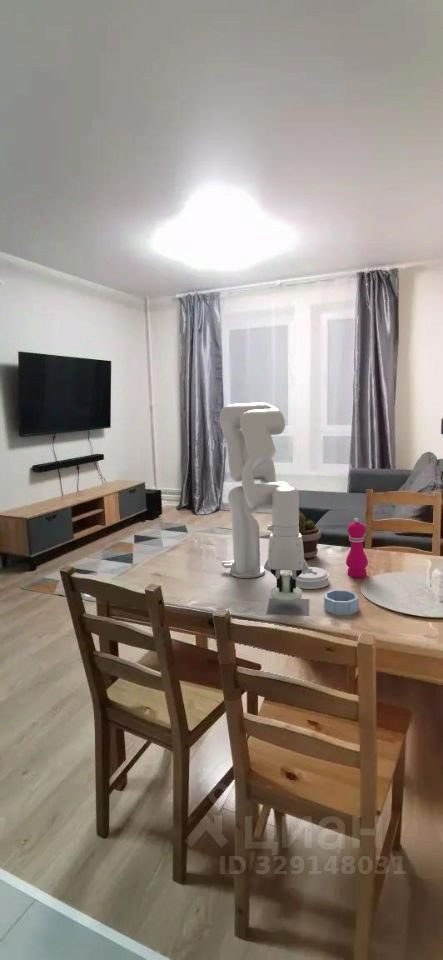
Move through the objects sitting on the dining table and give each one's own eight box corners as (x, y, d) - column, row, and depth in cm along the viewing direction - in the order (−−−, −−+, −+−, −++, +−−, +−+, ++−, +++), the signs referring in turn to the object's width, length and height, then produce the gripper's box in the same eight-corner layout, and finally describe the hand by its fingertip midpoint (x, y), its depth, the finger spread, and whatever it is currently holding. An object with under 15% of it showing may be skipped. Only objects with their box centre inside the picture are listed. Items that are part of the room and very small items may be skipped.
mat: (266, 615, 138) (266, 614, 138) (269, 599, 149) (269, 598, 149) (309, 616, 135) (309, 615, 135) (309, 600, 147) (309, 599, 147)
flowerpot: (293, 549, 201) (292, 502, 198) (328, 554, 192) (327, 504, 189) (275, 559, 189) (274, 508, 186) (312, 564, 180) (311, 511, 177)
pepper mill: (368, 578, 163) (368, 520, 160) (346, 577, 165) (346, 520, 162) (366, 571, 170) (366, 515, 167) (345, 571, 172) (345, 515, 169)
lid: (282, 585, 161) (282, 571, 160) (305, 575, 170) (304, 561, 169) (314, 594, 152) (314, 579, 151) (336, 583, 161) (336, 569, 160)
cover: (270, 600, 139) (269, 580, 138) (271, 588, 148) (271, 568, 147) (301, 602, 138) (301, 581, 137) (301, 589, 147) (301, 569, 145)
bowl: (324, 615, 136) (324, 601, 135) (324, 602, 145) (323, 589, 144) (359, 616, 134) (359, 602, 134) (356, 603, 143) (356, 590, 143)
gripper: (255, 533, 137) (257, 594, 141) (314, 534, 134) (314, 596, 138) (258, 525, 145) (260, 584, 148) (314, 526, 142) (314, 586, 145)
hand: (286, 589), depth 143 cm, fingers closed on cover, 2 cm apart
